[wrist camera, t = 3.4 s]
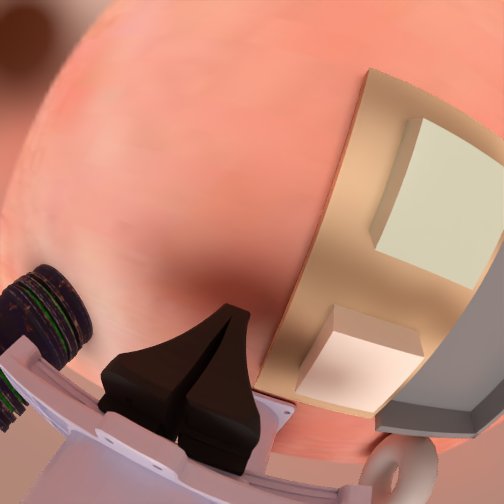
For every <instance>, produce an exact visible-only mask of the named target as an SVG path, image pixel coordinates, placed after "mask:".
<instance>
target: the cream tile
mask: <svg viewBox="0 0 504 504" xmlns="http://www.w3.org/2000/svg"><path fill="white" fill-rule="evenodd" d="M424 358H425V356H424V352H423V349H422V345H421V341H420V338H419V334H418V331H415V330H412V329H409V328H406V327H403V326H400V325H397V324H393V323H390V322H387V321H384V320H381V319H378V318H375V317H372V316H369V315H366V314H363V313H360V312H357V311H354V310H351V309H348V308H345V307H342V306H339V305H336V304H334V306H333V308H332V310H331V312H330V314H329V316H328V318H327V320H326V322H325V323H324V325H323V327H322V329H321V331H320V333H319V335H318V336H317V338H316V340H315V342H314V344H313V345H312V347H311V349H310V351H309V352H308V354H307V356H306V358H305V359H304V361H303V363H302V364H301V366H300V369H299V374H298V379H297V384H296V388H295V393H296V394H299V395H302V396H306V397H309V398H313V399H317V400H320V401H324V402H328V403H332V404H336V405H340V406H344V407H349V408H353V409H358V410H362V411H367V412H372V413H374V412H375V411H376V410H377V409H378V408H379V407H380V406H381V405H382V404H383V403H384V402H385V401H386V400H387V399H388V398H389V397H390V396H391V395H392V394H393V393H394V392H395V391H396V390H397V389H398V388H399V387H400V385H401V384H402V383H403V382H404V381H405V380H406V379H407V378H408V377H409V376H410V374H411V373H412V372H413V371H414V370H415V369H416V368H417V366H418V365H419V364H420V363H421V362H422V360H423V359H424Z"/></svg>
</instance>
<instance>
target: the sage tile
mask: <svg viewBox="0 0 504 504" xmlns="http://www.w3.org/2000/svg"><path fill="white" fill-rule="evenodd" d="M503 230H504V167H503V166H502V165H500V164H499V163H498V162H496V161H495V160H493V159H492V158H491V157H489V156H488V155H486V154H485V153H483V152H482V151H480V150H479V149H477V148H476V147H474V146H472V145H471V144H469V143H468V142H466V141H464V140H463V139H461V138H459V137H458V136H456V135H454V134H453V133H451V132H449V131H447V130H445V129H444V128H442V127H440V126H438V125H436V124H434V123H432V122H431V121H429V120H427V119H425V118H417V119H408V121H407V124H406V127H405V131H404V134H403V137H402V141H401V144H400V147H399V150H398V153H397V156H396V159H395V162H394V165H393V168H392V171H391V174H390V177H389V179H388V182H387V185H386V188H385V190H384V193H383V196H382V198H381V201H380V204H379V206H378V209H377V211H376V214H375V216H374V219H373V221H372V224H371V226H370V229H369V233H370V236H371V239H372V242H373V246H374V249H375V250H376V251H379V252H382V253H384V254H387V255H389V256H392V257H394V258H397V259H399V260H402V261H405V262H407V263H410V264H412V265H414V266H417V267H419V268H422V269H424V270H427V271H429V272H432V273H434V274H436V275H439V276H441V277H443V278H446V279H448V280H451V281H453V282H455V283H457V284H460V285H462V286H464V287H467V288H469V289H471V290H473V288H474V287H475V285H476V283H477V281H478V280H479V278H480V276H481V274H482V273H483V271H484V269H485V267H486V265H487V263H488V261H489V259H490V257H491V255H492V253H493V251H494V249H495V247H496V245H497V243H498V241H499V239H500V237H501V234H502V232H503Z"/></svg>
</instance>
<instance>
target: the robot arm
mask: <svg viewBox="0 0 504 504" xmlns="http://www.w3.org/2000/svg"><path fill="white" fill-rule="evenodd" d="M250 315H251V314H250V312H249V311H246V310H243V309H241V308H238V307H235V306H233V305H230V304H227V303H226V304H224V305H223V306H222V307H221V308H219V309H218V310H217V311H216V312H215V313H213V314H212V315H211V316H210V317H208V318H207V319H205V320H204V321H203V322H201V323H200V324H198V325H197V326H195V327H193V328H192V329H190V330H189V331H187V332H185V333H183V334H181V335H179V336H177V337H175V338H173V339H171V340H169V341H166V342H164V343H161V344H159V345H156V346H153V347H149V348H146V349H142V350H138V351H134V352H128V353H122V354H119V355H118V356H116V357H115V358H114V359H113V360H112V361H111V362H110V363H109V364H108V365H107V366H106V368H105V369H104V370H103V371H102V373H101V381H102V384H103V387H104V390H105V394H104V396H103V397H102V398H101V399H100V401H99V400H97V399H96V398H95V397H93V396H91V395H90V394H88V393H87V392H86V391H84V390H83V389H81V388H80V387H79V386H77V385H76V384H74V383H73V382H72V381H71V380H69V379H68V378H67V377H65V376H64V375H63V374H61V373H60V372H59V371H58V370H57V369H55V368H54V367H53V366H52V365H50V364H49V363H48V362H47V361H46V360H44V359H43V358H42V357H41V354H40V352H39V350H38V348H37V347H36V346H35V345H34V344H33V343H32V342H31V341H30V340H29V339H28V338H27V337H26V336H25V335H23V336H22V337H21V338H19V339H18V340H17V341H16V342H15V343H14V344H13V345H12V346H11V347H10V348H8V349H7V350H6V351H5V352H4V353H3V354H2V355H1V356H0V367H1V369H2V371H3V372H4V374H5V375H6V377H7V378H8V380H9V381H10V383H11V384H12V386H13V387H14V388H15V389H16V390H17V391H18V393H19V394H20V395H21V396H22V397H23V398H24V399H25V400H26V401H27V402H28V403H29V404H30V405H31V406H32V407H33V408H34V409H35V410H36V411H37V412H38V413H39V414H40V415H41V416H43V417H44V418H45V419H46V420H47V421H48V422H49V423H50V424H51V425H52V426H53V427H54V428H56V429H57V430H58V431H59V432H60V433H61V434H62V435H64V436H65V437H66V438H67V439H66V440H65V442H64V443H63V444H62V446H61V447H60V448H59V450H58V451H57V452H56V454H55V455H54V456H53V458H52V459H51V460H50V462H49V463H48V465H47V466H46V467H45V469H44V470H43V471H42V473H41V474H40V475H39V477H38V478H37V480H36V481H35V483H34V484H33V485H32V487H31V488H30V489H29V491H28V492H27V494H26V495H25V496H24V498H23V500H22V501H21V502H20V504H371V497H372V486H365V485H345V486H342V487H341V488H339V489H338V488H330V487H322V486H316V485H310V484H305V483H299V482H294V481H289V480H285V479H280V478H276V477H272V476H268V475H264V473H265V470H266V467H267V463H268V460H269V457H270V453H271V450H272V447H273V443H274V439H275V436H276V434H277V433H278V432H279V430H280V429H281V428H282V427H283V425H284V424H285V423H286V422H287V421H288V419H289V418H290V417H291V415H292V414H293V413H294V412H295V409H296V406H295V405H294V404H291V403H288V402H285V401H281V400H278V399H275V398H272V397H269V396H266V395H263V394H260V393H257V392H254V391H252V389H251V385H250V381H249V376H248V369H247V360H246V332H247V325H248V321H249V318H250ZM177 437H178V444H177V443H175V441H176V439H177Z"/></svg>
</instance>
